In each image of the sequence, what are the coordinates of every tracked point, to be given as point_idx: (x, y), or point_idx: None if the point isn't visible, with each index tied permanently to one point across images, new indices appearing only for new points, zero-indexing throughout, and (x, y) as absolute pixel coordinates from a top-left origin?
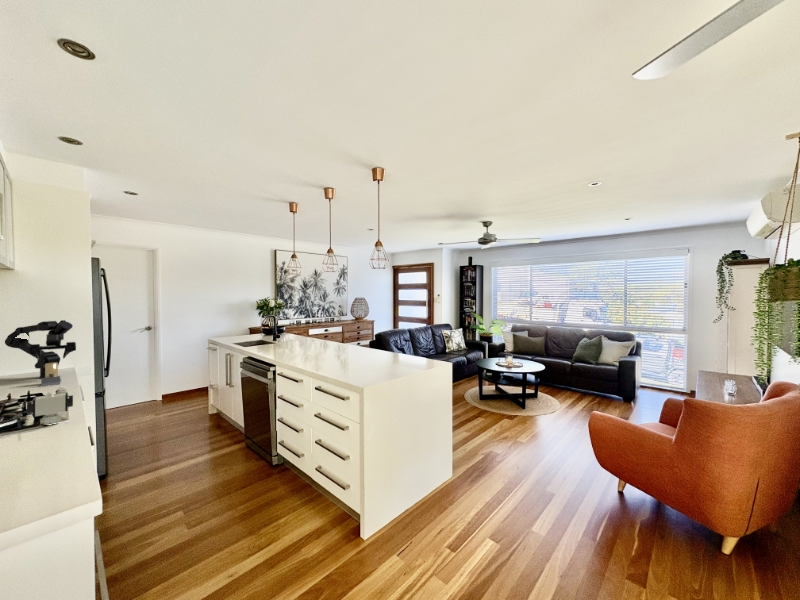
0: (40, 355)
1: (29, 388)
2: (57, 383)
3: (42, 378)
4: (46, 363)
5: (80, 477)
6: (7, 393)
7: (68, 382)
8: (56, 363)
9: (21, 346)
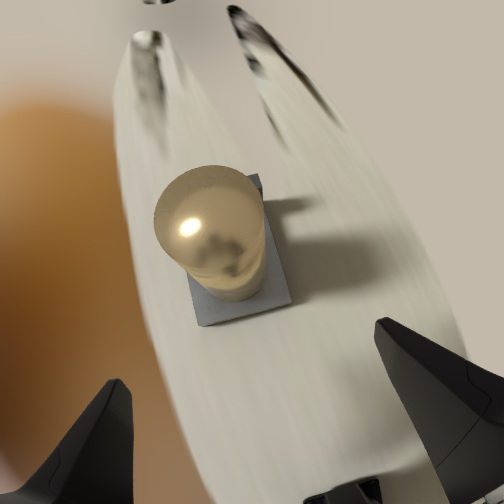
0: (420, 360)
1: (301, 179)
2: None
3: (251, 175)
4: (259, 222)
5: None
6: (340, 117)
7: (150, 260)
8: (160, 199)
9: None
